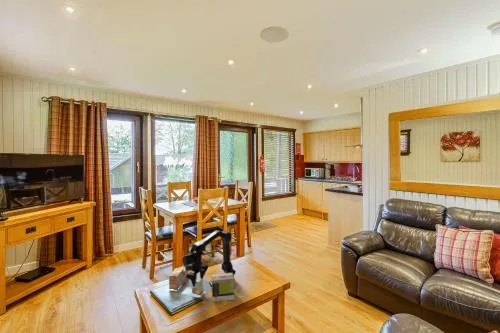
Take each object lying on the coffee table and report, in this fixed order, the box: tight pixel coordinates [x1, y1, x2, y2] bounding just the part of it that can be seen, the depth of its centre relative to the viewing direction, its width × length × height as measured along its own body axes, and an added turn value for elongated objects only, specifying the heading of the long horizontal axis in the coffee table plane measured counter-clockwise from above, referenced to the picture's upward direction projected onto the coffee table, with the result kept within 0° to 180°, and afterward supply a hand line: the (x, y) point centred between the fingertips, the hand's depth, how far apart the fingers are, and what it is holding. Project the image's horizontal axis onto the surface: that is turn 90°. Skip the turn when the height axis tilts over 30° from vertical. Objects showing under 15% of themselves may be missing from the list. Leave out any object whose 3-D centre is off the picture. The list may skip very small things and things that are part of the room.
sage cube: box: [193, 277, 204, 289], centre depth 173 cm, size 5×5×5 cm
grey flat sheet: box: [188, 279, 212, 298], centre depth 181 cm, size 18×23×1 cm
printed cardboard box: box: [168, 266, 189, 291], centre depth 187 cm, size 21×6×12 cm, turn 173°
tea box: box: [211, 272, 235, 302], centre depth 170 cm, size 15×10×15 cm, turn 100°
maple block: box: [192, 286, 204, 295], centre depth 174 cm, size 6×6×5 cm
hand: (197, 283), depth 173 cm, fingers open, 9 cm apart
